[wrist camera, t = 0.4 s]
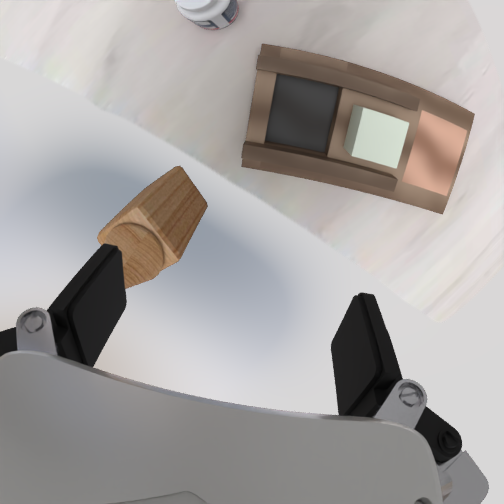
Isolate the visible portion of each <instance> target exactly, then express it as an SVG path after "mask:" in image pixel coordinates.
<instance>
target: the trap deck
mask: <svg viewBox="0 0 504 504" xmlns="http://www.w3.org/2000/svg"><path fill="white" fill-rule="evenodd" d="M256 69H257V75H256V81H255V87H254V92H253V98H252V104H251V110H250V116H249V122H248V128H247V135H246V141H245V143H244V144H243V151H242V157H241V158H243V160H242V166H241V167H246V168H252V169H258V170H263V171H269V172H274V173H280V174H285V175H290V176H295V177H300V178H305V179H309V180H314V181H319V182H323V183H328V184H332V185H336V186H341V187H345V188H349V189H353V190H357V191H361V192H365V193H369V194H373V195H377V196H381V197H385V198H388V199H392V200H396V201H399V202H403V203H406V204H410V205H413V206H417V207H420V208H423V209H427V210H430V211H433V212H436V213H440V214H443V212H444V210H445V207H446V205H447V202H448V199H449V197H450V194H451V191H452V188H453V186H454V183H455V180H456V177H457V174H458V171H459V168H460V165H461V162H462V159H463V155H464V152H465V149H466V145H467V142H468V138H469V134H470V131H471V127H472V123H473V119H474V115H475V114H474V113H472V112H470V111H468V110H467V109H465V108H463V107H461V106H459V105H457V104H455V103H453V102H451V101H449V100H447V99H445V98H442V97H440V96H438V95H436V94H434V93H432V92H429V91H427V90H425V89H422V88H420V87H418V86H415V85H413V84H410V83H408V82H405V81H403V80H400V79H398V78H395V77H392V76H389V75H387V74H384V73H381V72H378V71H375V70H372V69H369V68H366V67H363V66H359V65H356V64H353V63H349V62H346V61H342V60H338V59H335V58H331V57H327V56H323V55H319V54H314V53H310V52H305V51H301V50H296V49H290V48H285V47H279V46H273V45H267V44H262V47H261V52H260V55H258V60H257V66H256ZM353 105H357V106H361V107H364V108H367V109H371V110H374V111H377V112H380V113H383V114H386V115H389V116H392V117H395V118H398V119H400V120H403V121H406V122H408V123H409V126H408V130H407V134H406V138H405V141H404V145H403V148H402V152H401V155H400V159H399V162H398V165H397V169H395V168H392V167H389V166H386V165H382V164H379V163H375V162H372V161H368V160H365V159H361V158H357V157H353V156H351V155H350V154H349V153H348V152H347V151H346V150H345V149H344V148H343V147H344V143H345V139H346V135H347V131H348V126H349V122H350V118H351V114H352V109H353Z"/></svg>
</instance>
